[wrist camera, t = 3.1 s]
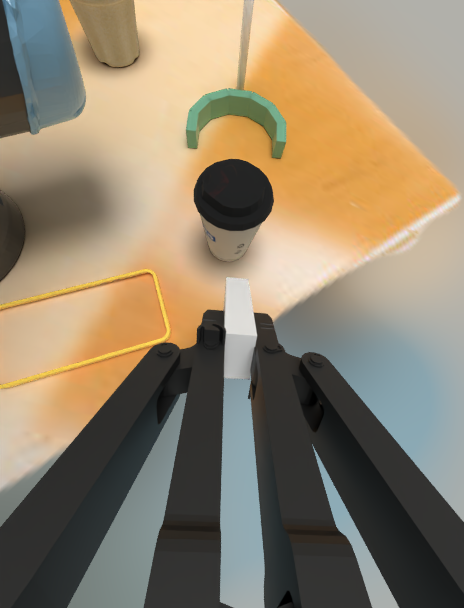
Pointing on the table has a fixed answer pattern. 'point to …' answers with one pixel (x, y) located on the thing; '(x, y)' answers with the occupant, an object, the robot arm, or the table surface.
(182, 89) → the table surface
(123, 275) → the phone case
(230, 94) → the cup ring
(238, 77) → the flag
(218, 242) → the coffee cup
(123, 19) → the flower pot
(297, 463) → the robot arm
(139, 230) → the table surface
